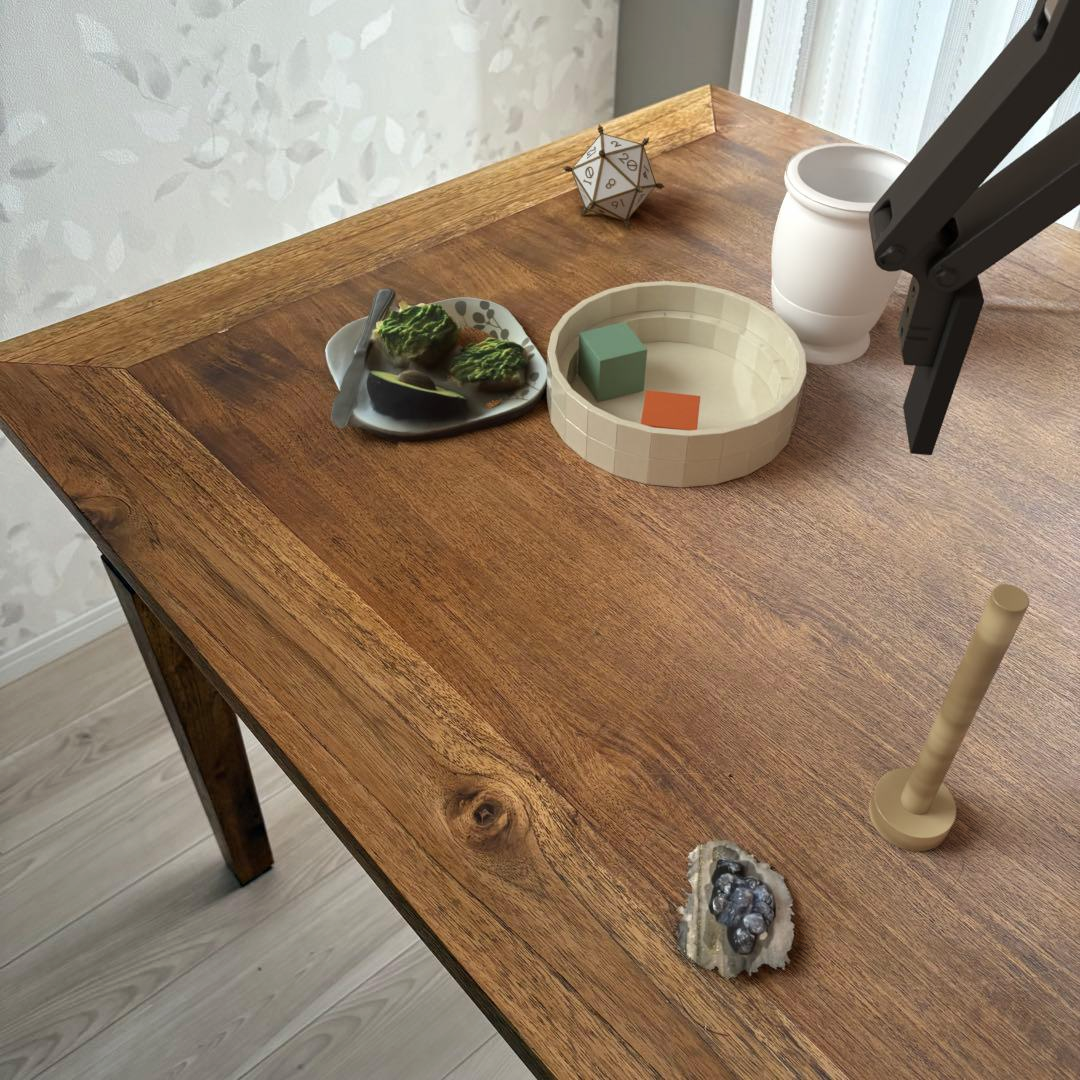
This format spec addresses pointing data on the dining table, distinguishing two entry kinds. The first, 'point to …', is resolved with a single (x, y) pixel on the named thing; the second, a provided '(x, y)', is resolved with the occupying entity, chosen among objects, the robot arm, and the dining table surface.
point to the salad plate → (432, 369)
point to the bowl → (682, 384)
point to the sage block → (611, 361)
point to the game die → (614, 176)
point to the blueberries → (734, 911)
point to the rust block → (670, 410)
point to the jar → (832, 249)
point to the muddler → (946, 735)
